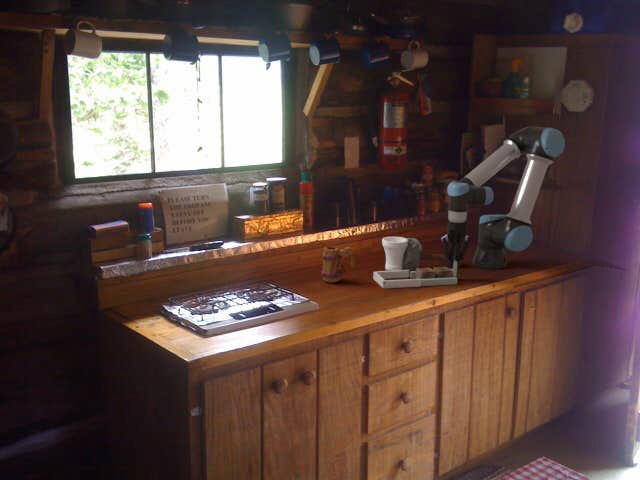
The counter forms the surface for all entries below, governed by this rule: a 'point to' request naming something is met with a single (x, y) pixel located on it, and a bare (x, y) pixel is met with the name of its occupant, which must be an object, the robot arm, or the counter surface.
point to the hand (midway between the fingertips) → (453, 275)
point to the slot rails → (434, 280)
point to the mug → (336, 263)
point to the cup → (394, 252)
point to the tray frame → (382, 275)
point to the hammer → (418, 255)
